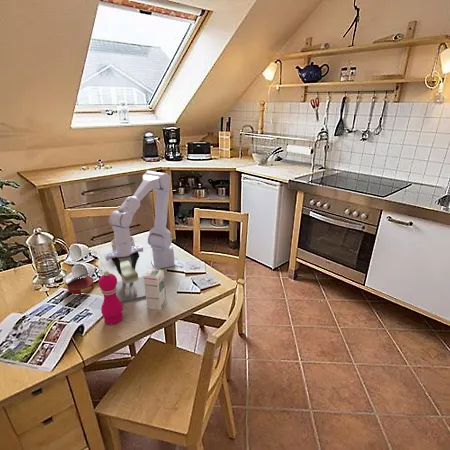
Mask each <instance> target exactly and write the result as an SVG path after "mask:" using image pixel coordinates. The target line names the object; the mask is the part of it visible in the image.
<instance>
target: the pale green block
mask: <svg viewBox="0 0 450 450" xmlns="http://www.w3.org/2000/svg"><path fill="white" fill-rule="evenodd" d="M115 267H116V266H115ZM120 268H121V274H119V275H120V277H121V280H122V279H123V280H124V282H125V283H126V284H128V283H131V282H134V281H137V280H138V278H139V274H138V271H136V268H135V269H134V268H133V267H132V265H131V262H130V261H129V260H128V259H127V260H124V261H120ZM116 271H117V272H118V270H117V267H116Z"/></svg>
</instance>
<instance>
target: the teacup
mask: <svg viewBox="0 0 450 450" xmlns="http://www.w3.org/2000/svg"><path fill="white" fill-rule="evenodd" d="M130 239H131V247H135V245H136V244H135V238H134V237H133V236H131V235H130ZM110 244H111V248H112V252H113V251H115V250H116V244H115V238H114V239H112V240H111V242H110ZM127 257H130V255H128V256H122V257H121V258H127Z"/></svg>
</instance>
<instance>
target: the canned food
mask: <svg viewBox="0 0 450 450" xmlns="http://www.w3.org/2000/svg"><path fill="white" fill-rule="evenodd" d="M89 274H90V272H87V273H83V274H80V275H79V277H78V276H76V277H74V278H72V279H70V280H69V281H68V282H66V283H65V284H66V285H67V291H68V293H69V292H70V293H73V294H81V293H86V294H88V293H90V292H91V291H93V290H94V288H95V283H94V277H92V276H89ZM82 276H87V277H85V278H81V279H80V277H82ZM78 278H79V279H78ZM70 293H69V294H70Z"/></svg>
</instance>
